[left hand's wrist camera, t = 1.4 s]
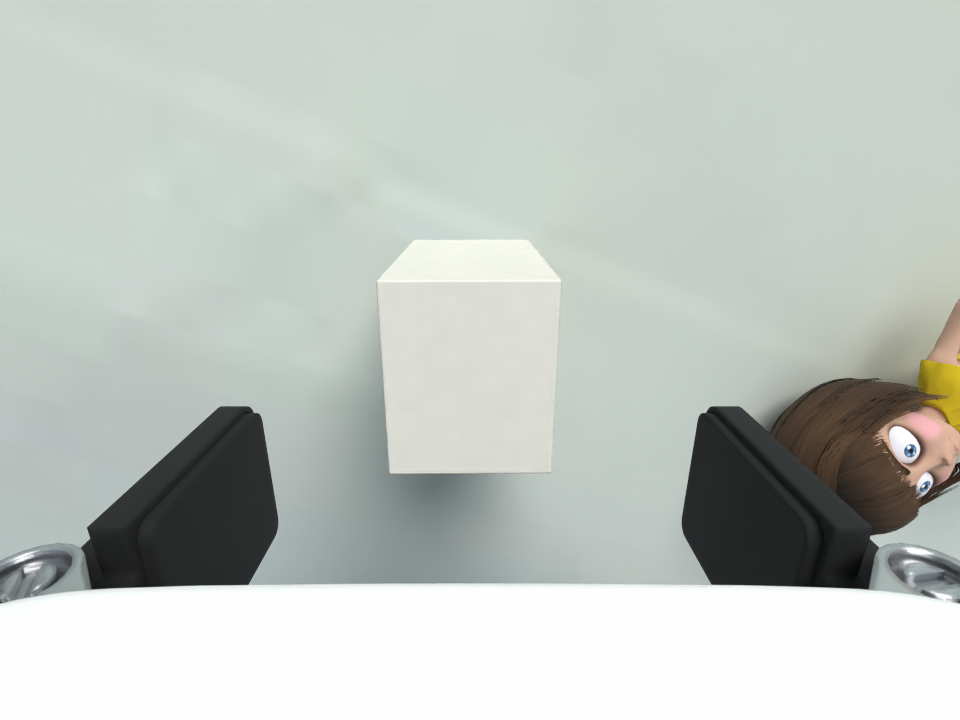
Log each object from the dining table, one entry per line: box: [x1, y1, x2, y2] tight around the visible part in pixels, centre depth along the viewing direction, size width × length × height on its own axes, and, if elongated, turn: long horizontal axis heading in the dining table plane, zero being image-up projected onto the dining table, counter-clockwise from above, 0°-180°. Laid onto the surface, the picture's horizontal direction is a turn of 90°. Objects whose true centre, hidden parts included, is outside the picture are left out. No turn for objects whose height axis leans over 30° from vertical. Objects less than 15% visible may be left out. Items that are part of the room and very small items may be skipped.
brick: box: [376, 240, 562, 474], centre depth 21 cm, size 5×6×10 cm
